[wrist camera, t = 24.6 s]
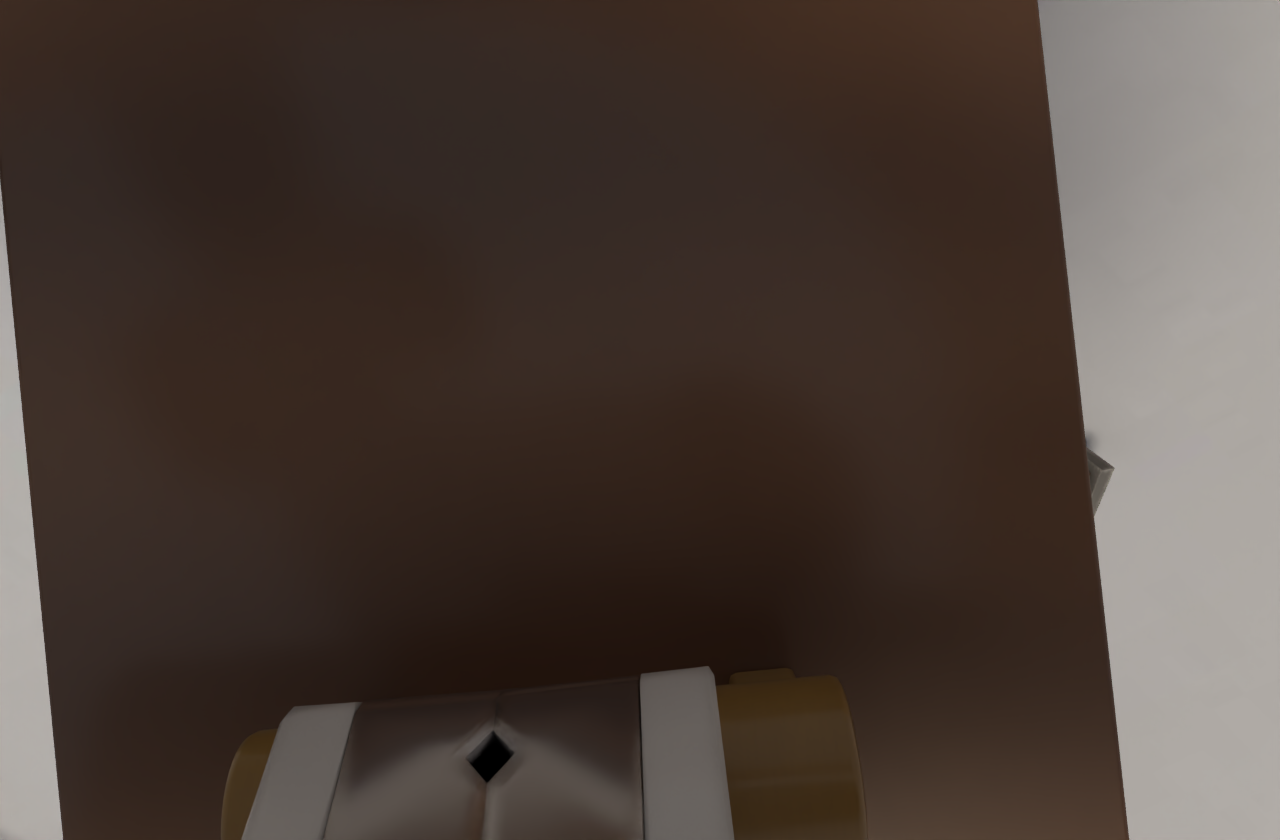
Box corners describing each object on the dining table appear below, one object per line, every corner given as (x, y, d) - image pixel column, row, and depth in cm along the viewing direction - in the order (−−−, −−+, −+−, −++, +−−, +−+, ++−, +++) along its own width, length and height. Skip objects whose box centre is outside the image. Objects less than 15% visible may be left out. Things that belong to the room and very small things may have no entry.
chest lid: (1110, 851, 13) (1324, 1055, 9) (104, 946, 13) (-164, 1186, 9) (955, -576, 13) (1090, -1056, 9) (-30, -455, 14) (-352, -863, 9)
